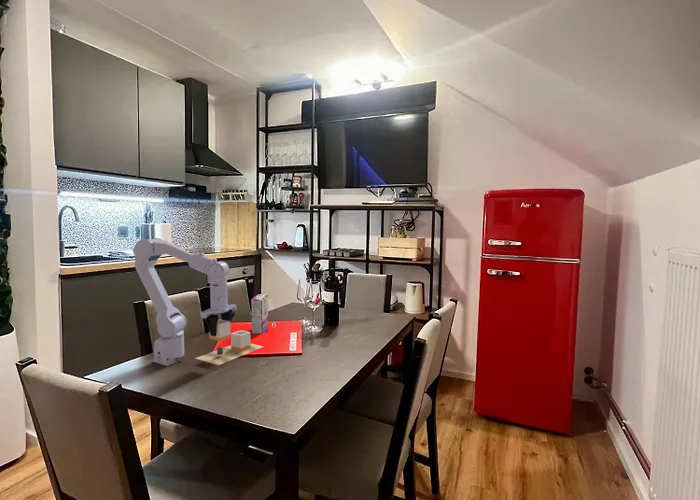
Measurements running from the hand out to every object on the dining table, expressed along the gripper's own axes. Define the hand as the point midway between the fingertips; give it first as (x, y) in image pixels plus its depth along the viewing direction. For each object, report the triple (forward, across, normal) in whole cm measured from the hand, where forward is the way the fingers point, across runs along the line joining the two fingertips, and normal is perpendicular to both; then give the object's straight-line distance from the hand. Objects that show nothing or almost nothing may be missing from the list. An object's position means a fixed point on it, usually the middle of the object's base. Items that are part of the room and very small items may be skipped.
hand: (219, 333), depth 136 cm
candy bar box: (+10, +32, +11) cm, 35 cm away
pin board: (+10, +5, 0) cm, 11 cm away
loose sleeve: (+2, 0, 0) cm, 2 cm away
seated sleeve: (+8, +10, 0) cm, 13 cm away
